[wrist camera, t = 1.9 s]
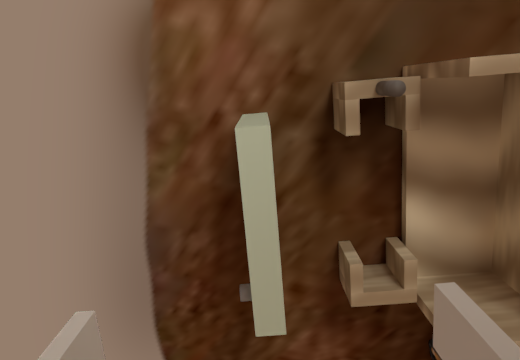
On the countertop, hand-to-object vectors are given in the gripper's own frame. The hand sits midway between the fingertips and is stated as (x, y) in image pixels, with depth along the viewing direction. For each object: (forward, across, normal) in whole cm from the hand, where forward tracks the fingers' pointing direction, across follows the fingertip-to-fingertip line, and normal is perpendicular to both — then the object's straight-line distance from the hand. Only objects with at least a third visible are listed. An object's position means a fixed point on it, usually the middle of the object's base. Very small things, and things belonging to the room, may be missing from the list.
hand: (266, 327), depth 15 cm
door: (+19, 0, 0) cm, 19 cm away
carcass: (+19, +13, 0) cm, 23 cm away
